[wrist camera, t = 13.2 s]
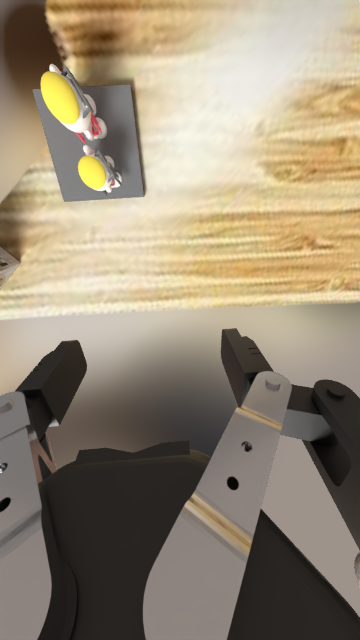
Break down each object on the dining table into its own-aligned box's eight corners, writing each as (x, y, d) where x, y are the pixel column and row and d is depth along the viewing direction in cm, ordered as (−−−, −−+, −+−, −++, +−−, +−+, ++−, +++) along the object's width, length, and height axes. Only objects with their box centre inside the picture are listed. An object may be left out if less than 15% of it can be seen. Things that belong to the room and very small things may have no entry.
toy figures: (128, 191, 31) (115, 185, 24) (100, 200, 31) (80, 196, 24) (91, 80, 25) (61, 27, 18) (58, 92, 26) (15, 44, 18)
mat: (131, 88, 27) (130, 84, 26) (144, 196, 32) (143, 196, 31) (36, 93, 26) (32, 89, 25) (66, 201, 32) (63, 201, 31)
